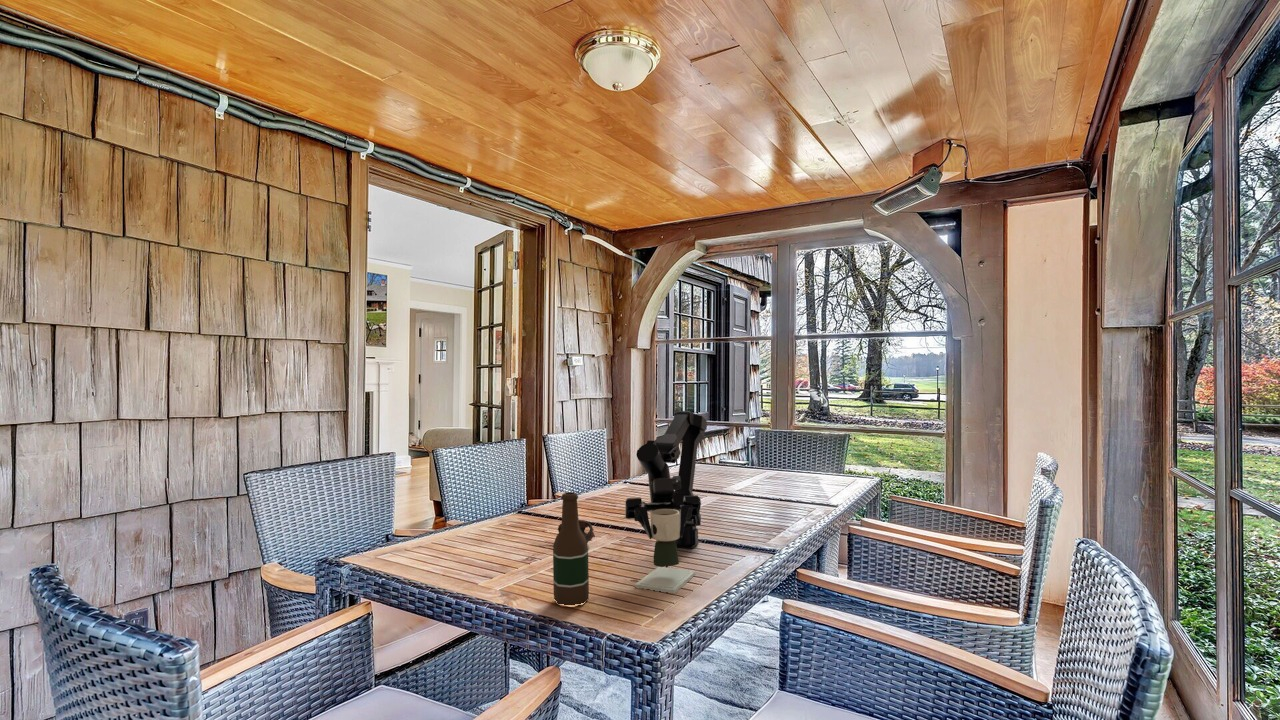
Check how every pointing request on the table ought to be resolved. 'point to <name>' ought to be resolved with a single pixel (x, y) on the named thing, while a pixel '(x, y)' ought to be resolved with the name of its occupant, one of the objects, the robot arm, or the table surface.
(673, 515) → the character mug
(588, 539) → the pottery mug
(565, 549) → the beer bottle
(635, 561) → the table surface
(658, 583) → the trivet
